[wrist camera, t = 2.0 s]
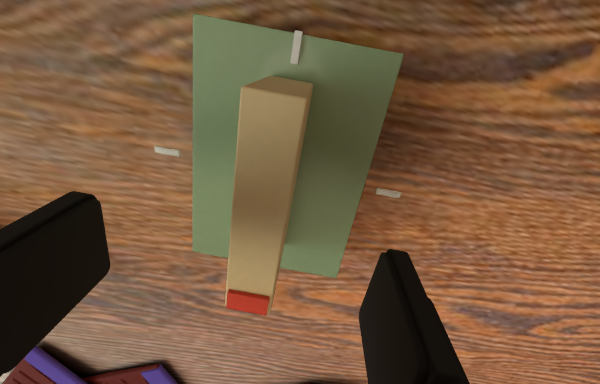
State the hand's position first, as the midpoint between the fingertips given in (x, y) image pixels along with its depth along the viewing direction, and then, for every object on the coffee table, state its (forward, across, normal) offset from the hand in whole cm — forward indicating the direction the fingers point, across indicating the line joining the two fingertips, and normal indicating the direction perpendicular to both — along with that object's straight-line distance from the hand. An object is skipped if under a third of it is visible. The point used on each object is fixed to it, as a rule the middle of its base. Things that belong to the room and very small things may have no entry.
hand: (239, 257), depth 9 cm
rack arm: (+7, 0, 0) cm, 7 cm away
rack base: (+10, 0, 0) cm, 11 cm away
